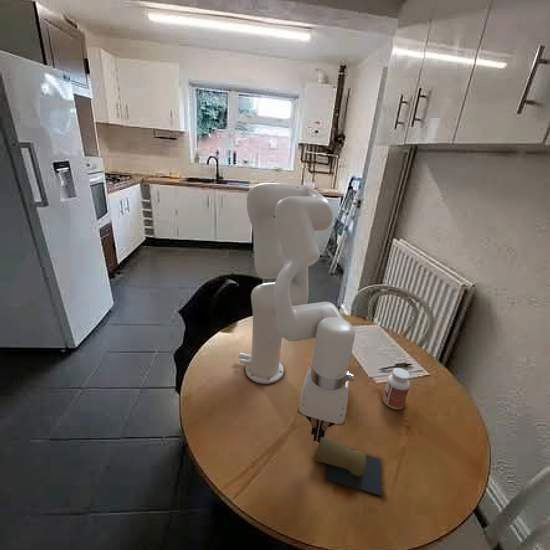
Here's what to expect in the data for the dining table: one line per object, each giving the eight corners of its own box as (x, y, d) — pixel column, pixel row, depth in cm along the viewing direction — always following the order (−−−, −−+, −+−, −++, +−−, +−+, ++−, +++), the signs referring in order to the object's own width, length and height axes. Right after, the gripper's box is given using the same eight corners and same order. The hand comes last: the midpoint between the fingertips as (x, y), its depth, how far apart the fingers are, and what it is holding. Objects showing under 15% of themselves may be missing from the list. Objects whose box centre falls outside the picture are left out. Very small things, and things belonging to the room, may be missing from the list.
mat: (326, 479, 70) (326, 478, 70) (330, 446, 78) (330, 445, 78) (381, 496, 68) (381, 495, 68) (379, 460, 76) (379, 459, 76)
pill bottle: (408, 405, 93) (417, 375, 89) (395, 413, 90) (404, 383, 86) (390, 392, 98) (398, 363, 94) (378, 399, 95) (385, 370, 91)
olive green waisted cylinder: (323, 428, 76) (369, 446, 72) (320, 444, 78) (364, 462, 75) (316, 449, 71) (365, 470, 67) (313, 466, 73) (360, 486, 70)
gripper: (364, 371, 67) (350, 432, 74) (297, 355, 70) (289, 416, 77) (364, 395, 60) (348, 460, 67) (290, 377, 64) (282, 441, 71)
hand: (317, 436), depth 72 cm, fingers closed
